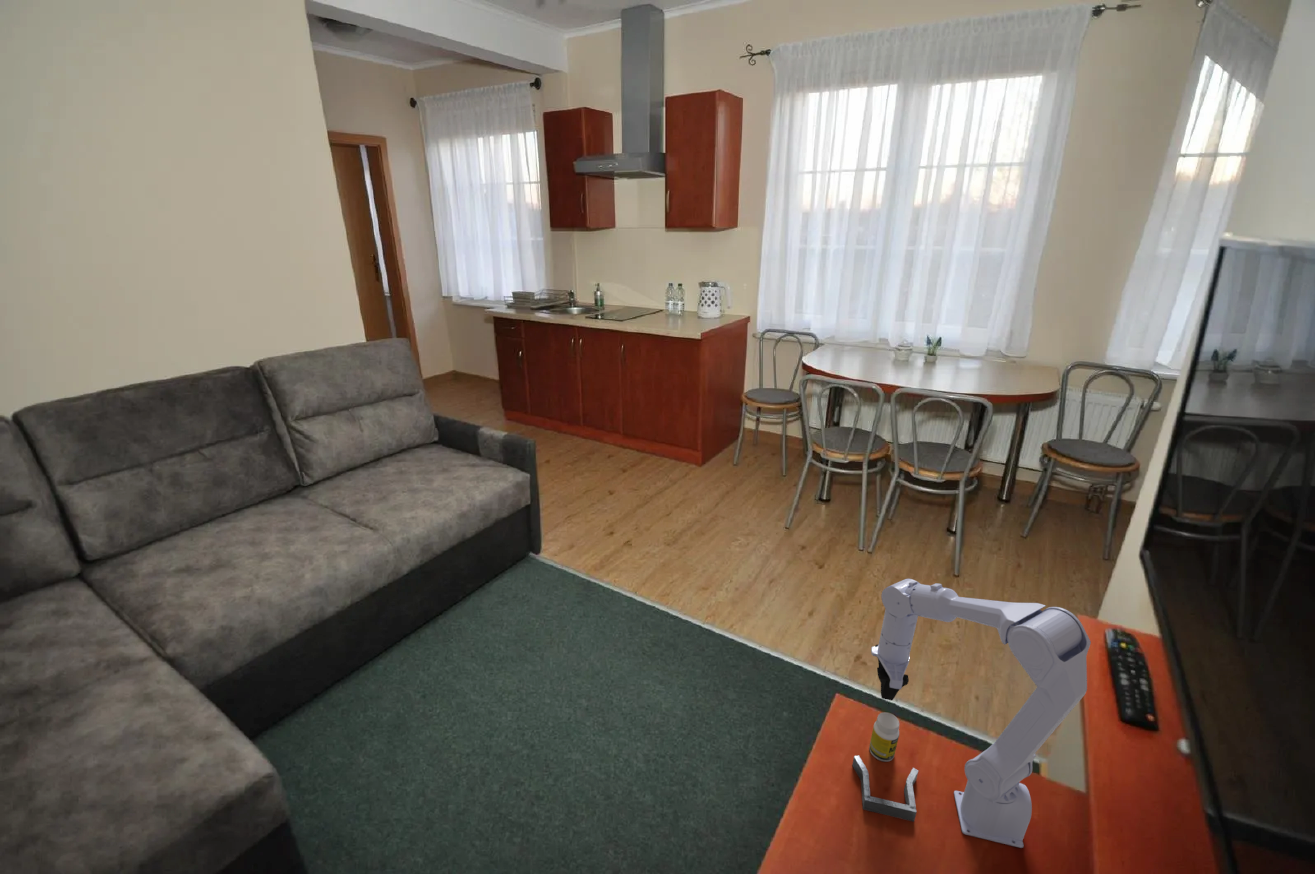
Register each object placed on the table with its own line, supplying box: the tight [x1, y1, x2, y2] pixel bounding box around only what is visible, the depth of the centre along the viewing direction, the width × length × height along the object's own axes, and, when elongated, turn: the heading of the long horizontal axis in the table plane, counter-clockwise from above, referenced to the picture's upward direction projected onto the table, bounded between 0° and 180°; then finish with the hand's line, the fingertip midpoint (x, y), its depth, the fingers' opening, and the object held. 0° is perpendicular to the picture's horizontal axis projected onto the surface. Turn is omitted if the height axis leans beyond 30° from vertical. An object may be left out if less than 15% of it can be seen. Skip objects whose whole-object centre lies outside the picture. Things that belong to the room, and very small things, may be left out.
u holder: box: [851, 755, 919, 823], centre depth 107 cm, size 12×9×2 cm
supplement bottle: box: [868, 711, 900, 763], centre depth 113 cm, size 5×5×8 cm
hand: (885, 688), depth 118 cm, fingers open, 4 cm apart
